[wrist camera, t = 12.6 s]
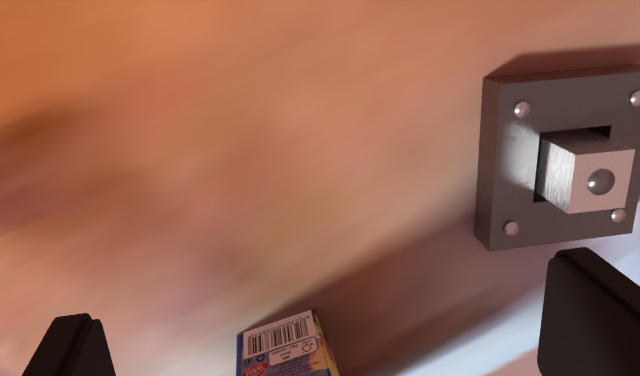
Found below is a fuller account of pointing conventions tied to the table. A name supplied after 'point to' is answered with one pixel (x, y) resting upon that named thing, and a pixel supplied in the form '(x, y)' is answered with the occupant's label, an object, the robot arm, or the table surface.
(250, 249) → the table surface
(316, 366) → the juice carton
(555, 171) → the cube with chrome dome
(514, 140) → the gray square socket plate
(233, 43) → the table surface
